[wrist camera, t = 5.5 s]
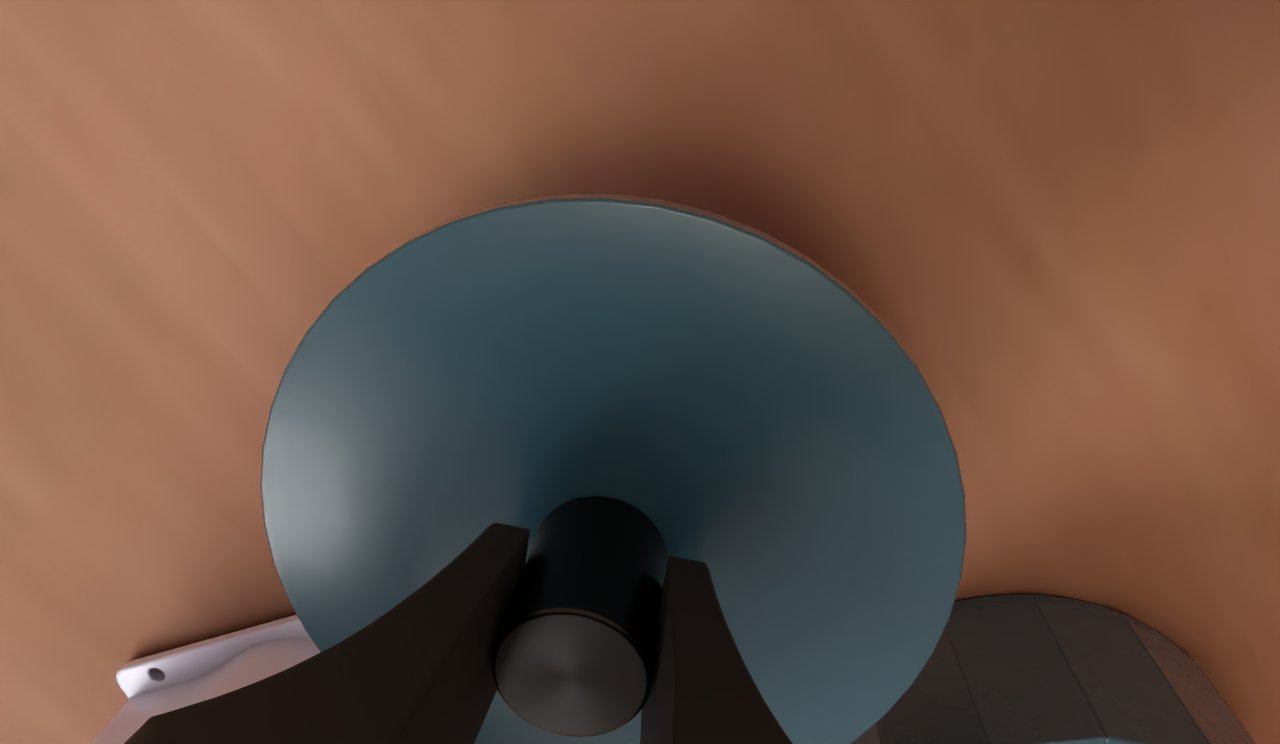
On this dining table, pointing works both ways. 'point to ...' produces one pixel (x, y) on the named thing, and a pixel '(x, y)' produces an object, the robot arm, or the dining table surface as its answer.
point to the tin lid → (622, 460)
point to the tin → (1055, 682)
